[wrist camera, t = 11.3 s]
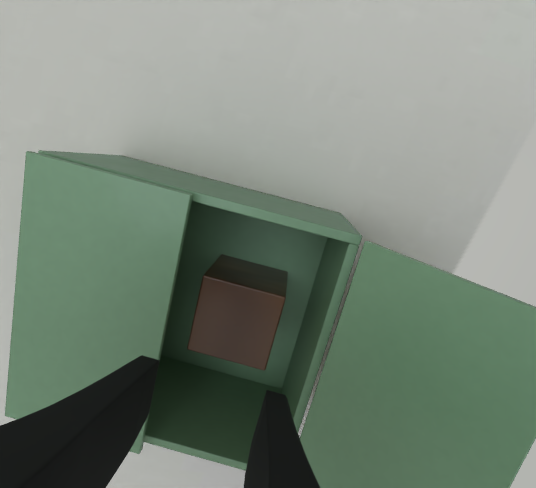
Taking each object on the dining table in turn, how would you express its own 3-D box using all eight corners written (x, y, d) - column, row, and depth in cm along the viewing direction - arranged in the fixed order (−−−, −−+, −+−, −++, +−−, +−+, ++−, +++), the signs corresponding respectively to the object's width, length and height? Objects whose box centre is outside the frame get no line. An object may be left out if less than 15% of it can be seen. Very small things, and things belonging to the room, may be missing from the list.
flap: (364, 240, 12) (369, 241, 12) (280, 494, 15) (285, 491, 15) (592, 331, 8) (593, 329, 8) (415, 665, 11) (420, 657, 11)
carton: (341, 213, 19) (366, 240, 12) (286, 391, 22) (281, 495, 15) (121, 155, 19) (23, 149, 12) (94, 338, 22) (2, 416, 15)
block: (288, 271, 20) (286, 297, 16) (271, 332, 21) (265, 371, 17) (221, 253, 20) (202, 274, 16) (207, 315, 21) (186, 349, 17)
